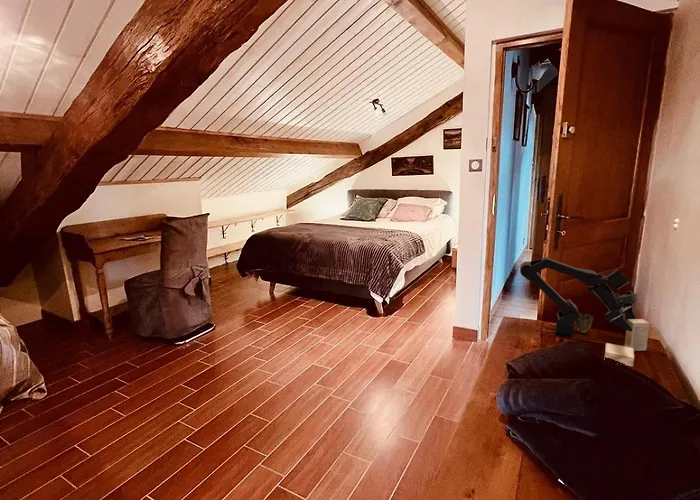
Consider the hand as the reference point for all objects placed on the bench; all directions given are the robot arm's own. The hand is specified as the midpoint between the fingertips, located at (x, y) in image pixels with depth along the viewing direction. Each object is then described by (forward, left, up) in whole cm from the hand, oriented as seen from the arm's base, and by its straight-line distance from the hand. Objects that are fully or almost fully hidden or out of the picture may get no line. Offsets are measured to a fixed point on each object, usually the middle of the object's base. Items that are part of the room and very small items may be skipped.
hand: (634, 327), depth 159 cm
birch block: (-5, -13, -9) cm, 17 cm away
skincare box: (+1, 0, -9) cm, 9 cm away
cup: (-18, +8, -9) cm, 22 cm away
